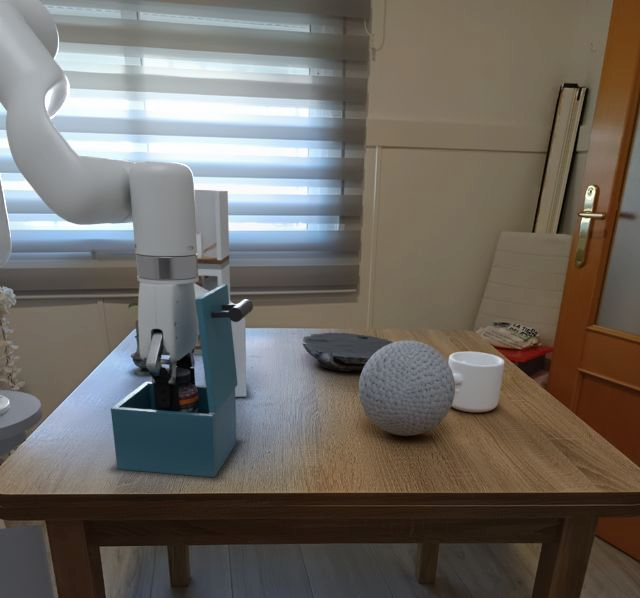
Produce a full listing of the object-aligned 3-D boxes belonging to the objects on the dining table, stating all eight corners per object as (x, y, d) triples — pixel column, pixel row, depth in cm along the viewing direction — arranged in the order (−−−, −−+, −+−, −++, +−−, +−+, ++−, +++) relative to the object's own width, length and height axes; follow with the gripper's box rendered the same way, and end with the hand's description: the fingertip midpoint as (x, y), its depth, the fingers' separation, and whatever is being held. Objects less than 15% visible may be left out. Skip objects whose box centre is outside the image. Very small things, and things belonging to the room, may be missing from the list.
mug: (425, 395, 111) (430, 349, 107) (472, 391, 114) (478, 347, 110) (457, 417, 100) (464, 367, 97) (507, 413, 103) (516, 364, 100)
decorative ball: (360, 411, 101) (366, 327, 95) (446, 419, 99) (457, 334, 93) (351, 446, 88) (357, 350, 82) (451, 456, 85) (464, 358, 80)
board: (354, 347, 143) (356, 327, 141) (419, 369, 127) (422, 346, 125) (281, 359, 130) (281, 337, 128) (343, 386, 114) (344, 361, 112)
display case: (188, 341, 142) (180, 189, 129) (231, 343, 142) (227, 190, 129) (177, 353, 132) (167, 189, 118) (223, 355, 132) (219, 190, 119)
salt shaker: (146, 377, 115) (141, 318, 110) (125, 372, 117) (120, 314, 113) (167, 370, 119) (163, 313, 115) (147, 366, 122) (142, 309, 117)
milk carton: (241, 385, 112) (239, 286, 105) (246, 397, 106) (245, 293, 99) (204, 387, 111) (200, 287, 103) (207, 399, 104) (203, 294, 97)
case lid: (194, 299, 68) (234, 298, 67) (221, 284, 78) (256, 283, 78) (209, 413, 73) (246, 413, 72) (232, 384, 84) (264, 384, 83)
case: (117, 469, 78) (110, 408, 74) (150, 435, 88) (145, 381, 85) (214, 477, 77) (212, 416, 73) (236, 442, 87) (235, 387, 84)
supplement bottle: (176, 460, 78) (171, 381, 74) (149, 447, 81) (142, 371, 77) (209, 446, 83) (206, 371, 78) (182, 435, 86) (177, 362, 82)
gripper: (163, 259, 81) (172, 381, 88) (108, 276, 65) (123, 423, 72) (215, 262, 80) (219, 385, 87) (172, 280, 64) (181, 428, 71)
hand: (176, 401), depth 79 cm, fingers closed on supplement bottle, 6 cm apart
